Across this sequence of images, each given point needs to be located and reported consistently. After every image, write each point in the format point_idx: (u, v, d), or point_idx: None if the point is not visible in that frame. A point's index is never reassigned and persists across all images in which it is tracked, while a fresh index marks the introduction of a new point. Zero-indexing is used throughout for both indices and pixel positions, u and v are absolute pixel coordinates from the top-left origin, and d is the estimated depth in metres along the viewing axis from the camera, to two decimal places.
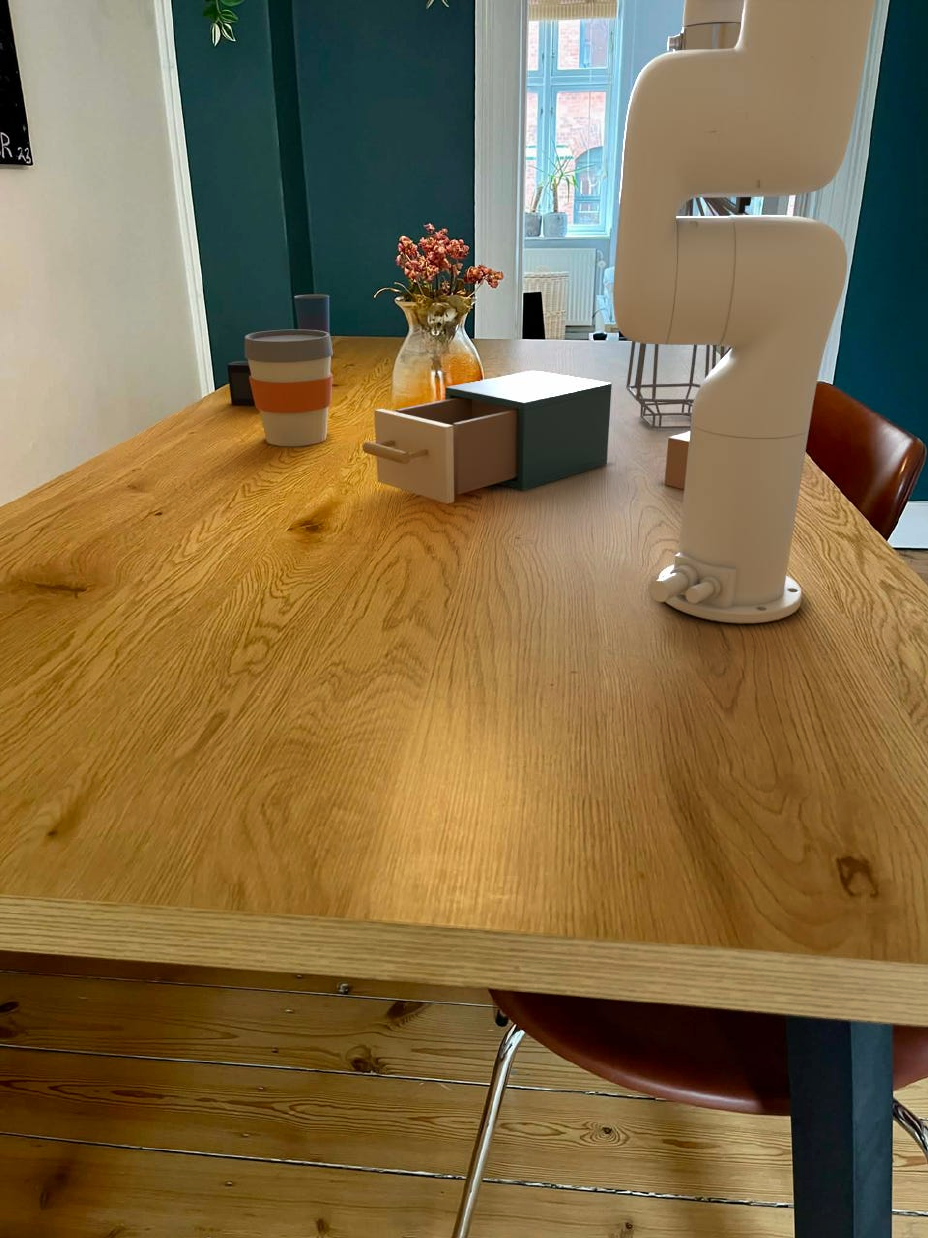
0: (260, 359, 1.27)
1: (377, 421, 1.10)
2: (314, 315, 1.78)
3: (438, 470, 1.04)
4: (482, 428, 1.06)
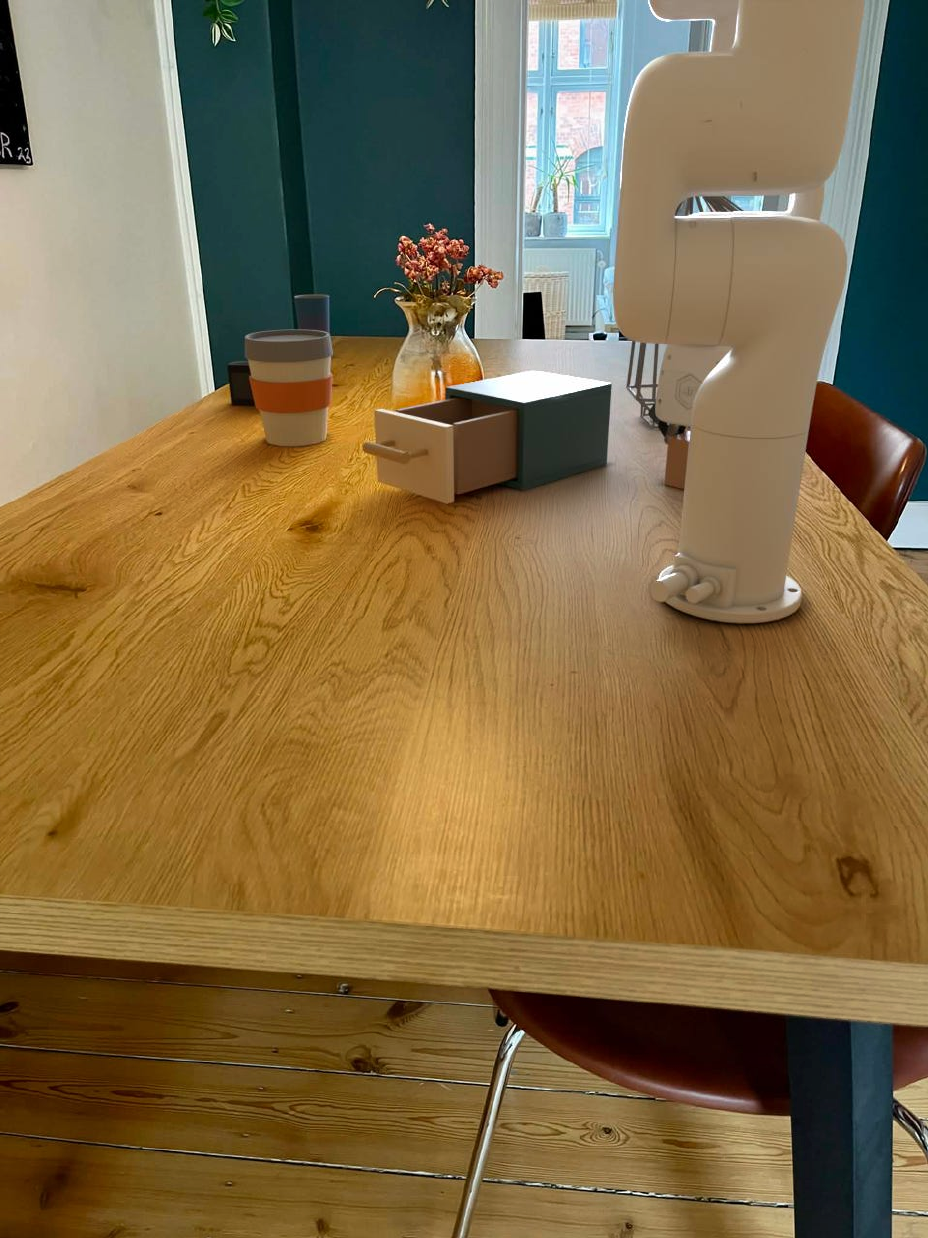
0: (260, 359, 1.27)
1: (377, 421, 1.10)
2: (314, 315, 1.78)
3: (438, 470, 1.04)
4: (482, 428, 1.06)
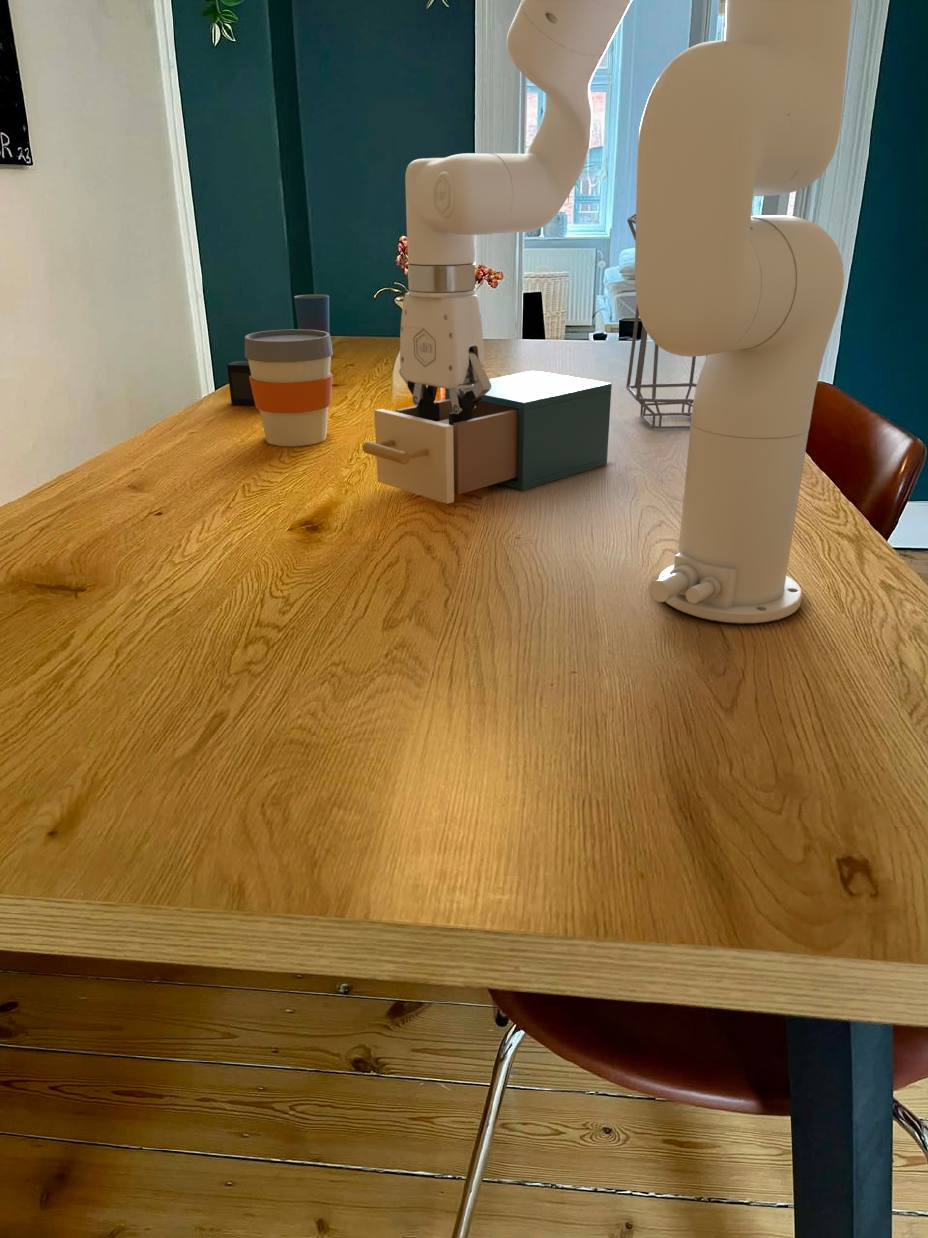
0: (260, 359, 1.27)
1: (377, 421, 1.10)
2: (314, 315, 1.78)
3: (438, 470, 1.04)
4: (482, 428, 1.06)
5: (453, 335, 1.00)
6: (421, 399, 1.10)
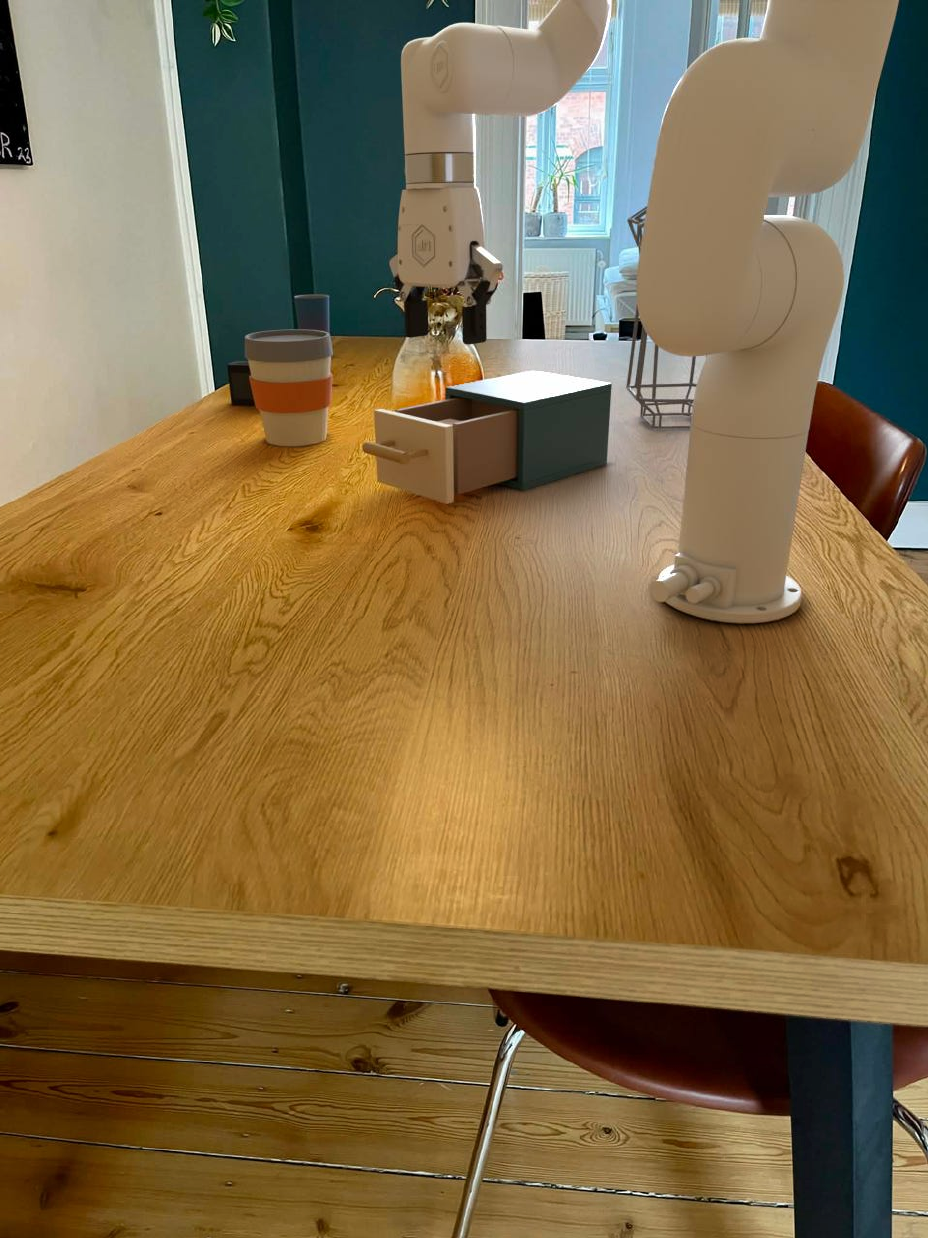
0: (260, 359, 1.27)
1: (377, 421, 1.10)
2: (314, 315, 1.78)
3: (438, 470, 1.04)
4: (481, 428, 1.06)
5: (452, 227, 0.96)
6: (408, 297, 1.06)
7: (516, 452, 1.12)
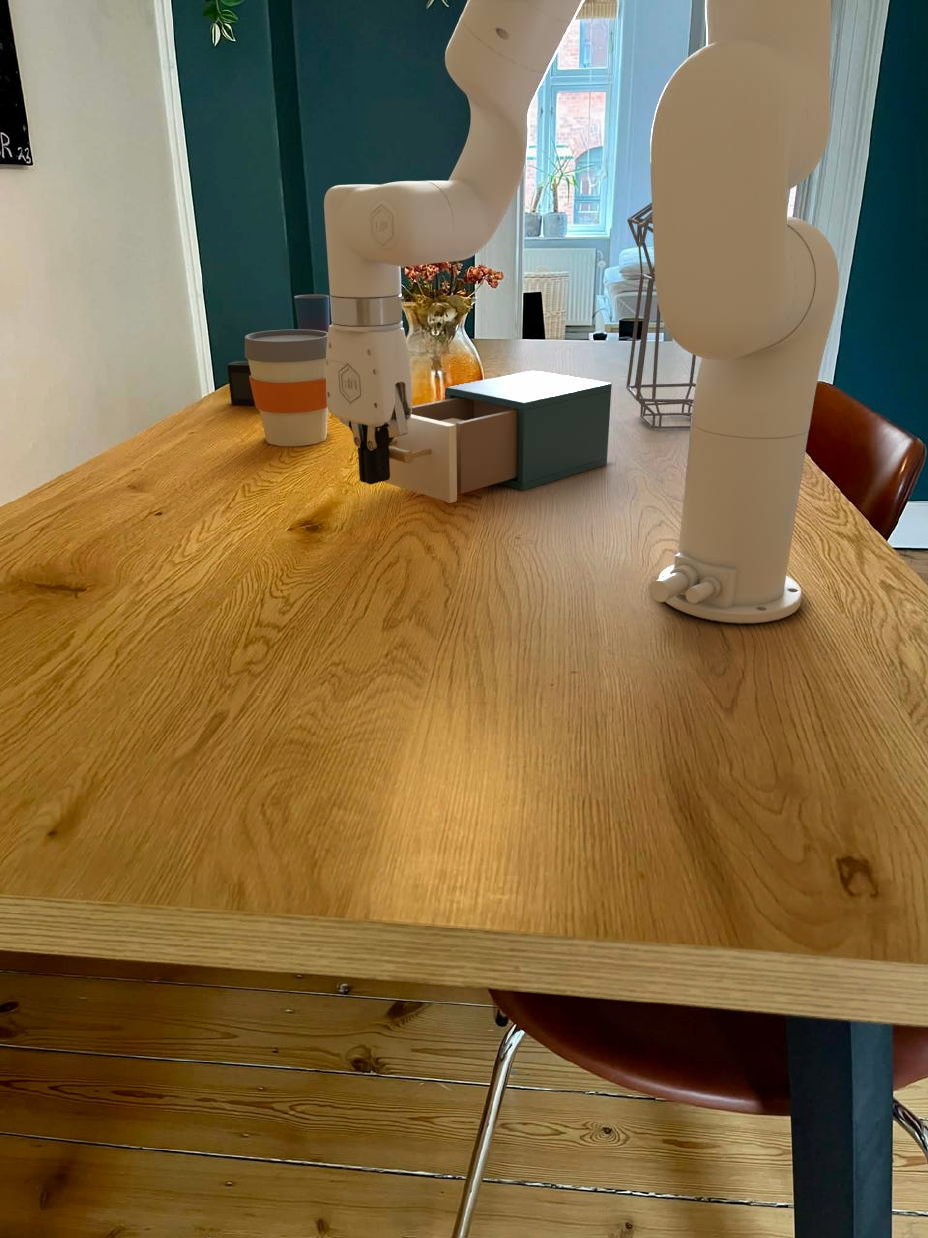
0: (260, 359, 1.27)
1: None
2: (314, 315, 1.78)
3: (441, 469, 1.05)
4: (484, 427, 1.07)
5: (377, 371, 0.95)
6: (362, 438, 1.02)
7: None
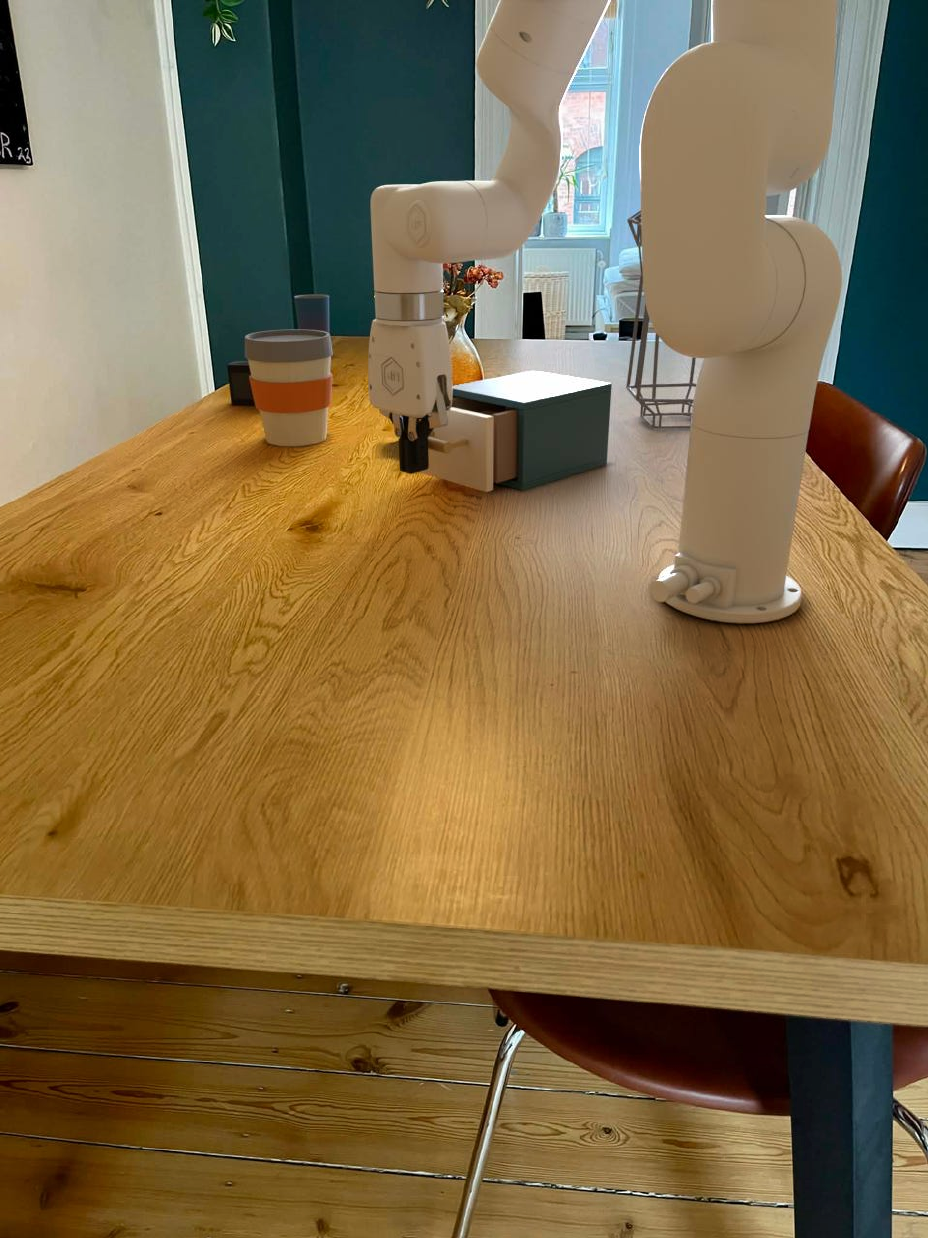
0: (260, 359, 1.27)
1: None
2: (314, 315, 1.78)
3: (478, 459, 1.08)
4: None
5: (420, 364, 0.98)
6: (403, 429, 1.06)
7: None
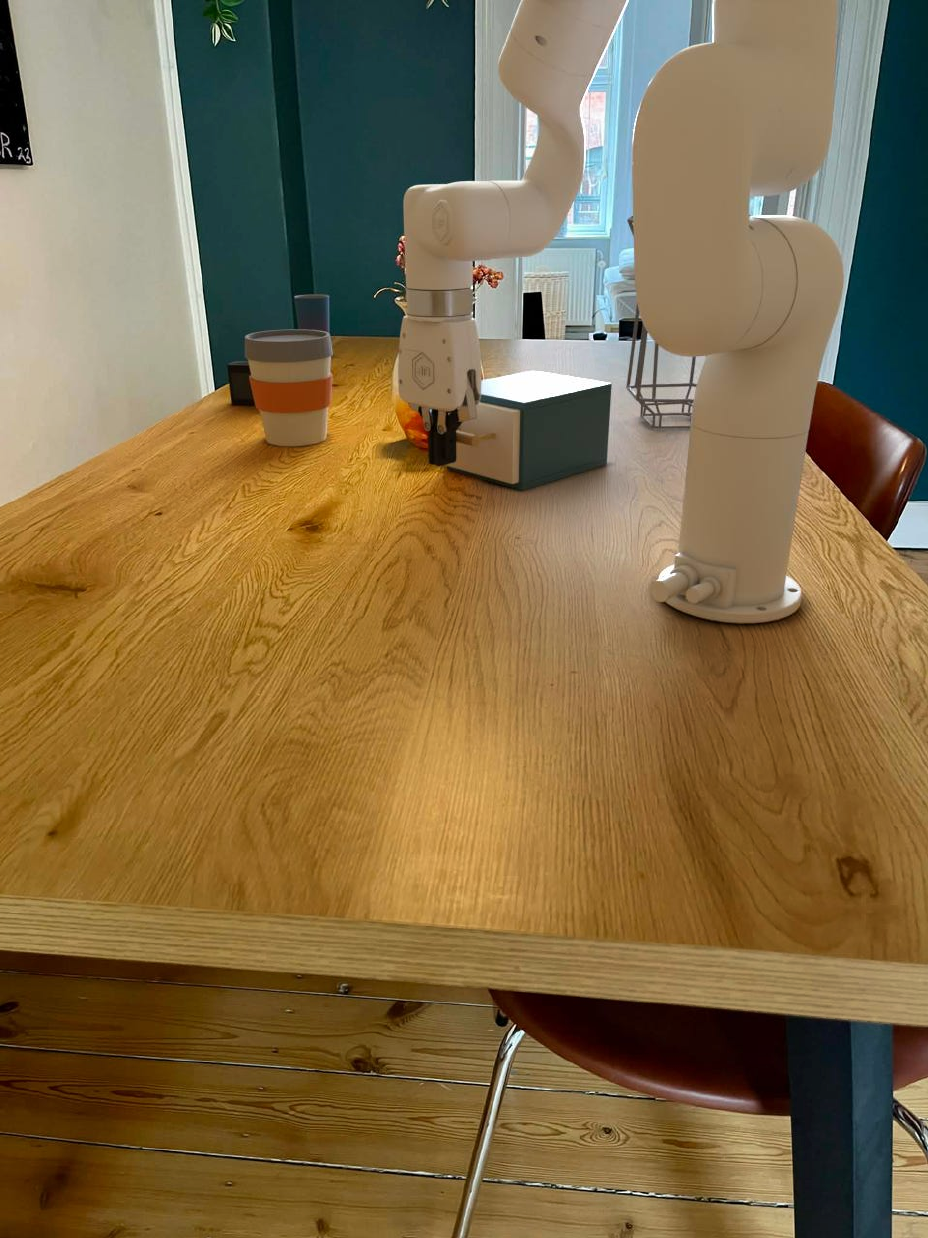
0: (260, 359, 1.27)
1: None
2: (314, 315, 1.78)
3: (505, 452, 1.11)
4: None
5: (451, 359, 1.01)
6: (432, 423, 1.09)
7: None
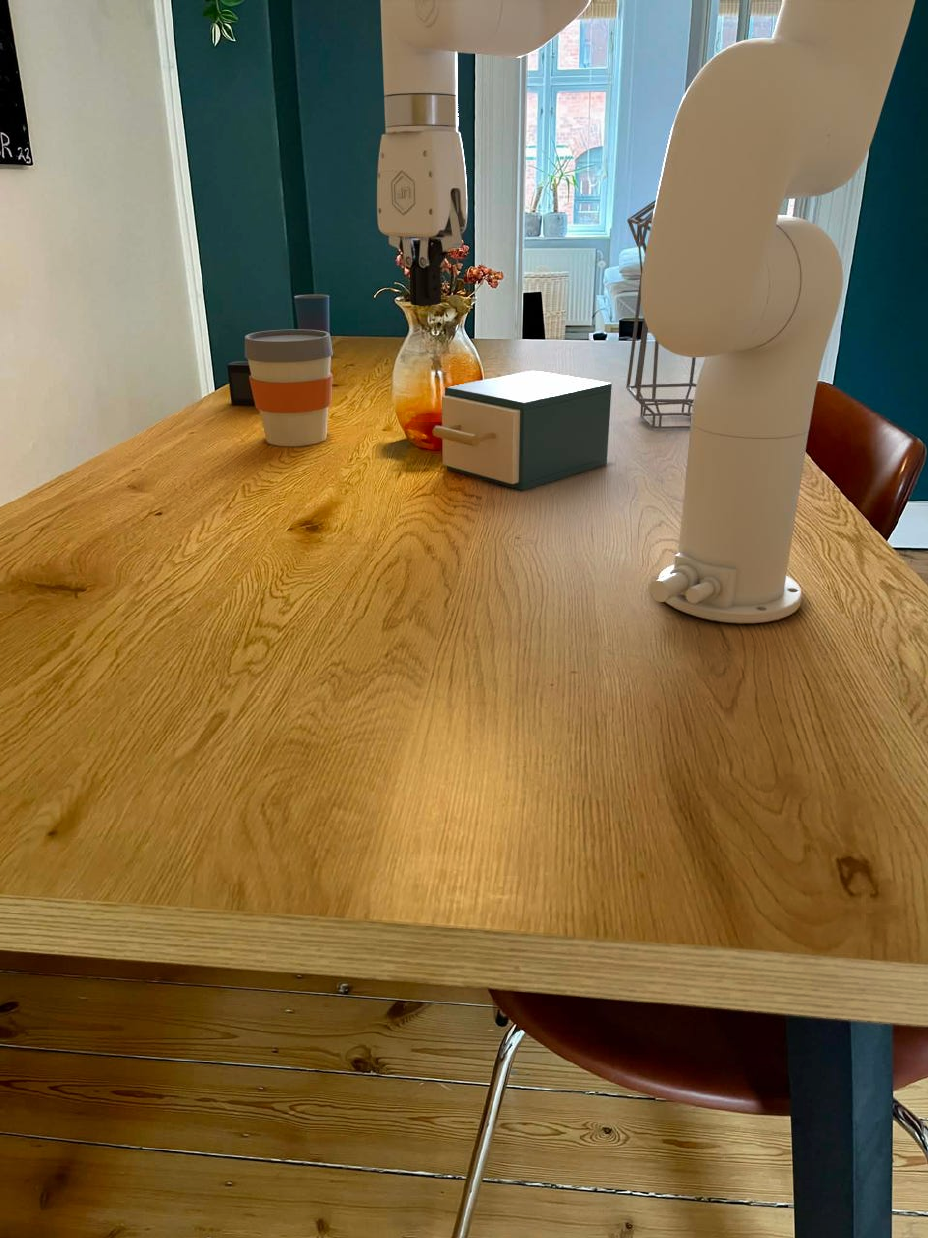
0: (260, 359, 1.27)
1: (444, 407, 1.16)
2: (314, 315, 1.78)
3: (505, 452, 1.11)
4: None
5: (433, 173, 0.92)
6: (414, 257, 1.00)
7: None
